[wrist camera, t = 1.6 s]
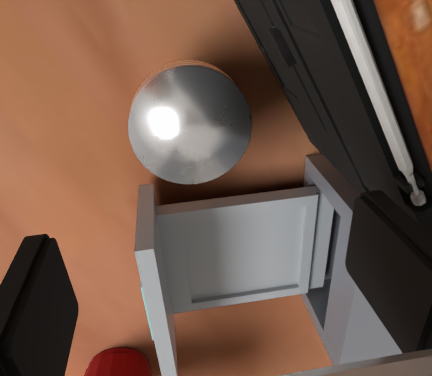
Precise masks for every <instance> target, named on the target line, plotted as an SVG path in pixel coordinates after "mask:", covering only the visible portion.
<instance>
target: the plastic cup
mask: <svg viewBox="0 0 432 376" xmlns="http://www.w3.org/2000/svg"><path fill="white" fill-rule="evenodd" d="M84 376H152V374H151V368H150V366H149V363H148V360H147V359H146V357H145V355H143V354H142V353H140V352H139V351H137V350H133V349H129V348H112V349H109V350H105V351H102V352H101V353H99V354H98V355H96V356H95V357H94V358H93V359H92V361H91V362H90V364H89V366H88V368H87V369H86V372H85V375H84Z"/></svg>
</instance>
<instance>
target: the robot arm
mask: <svg viewBox="0 0 432 376" xmlns="http://www.w3.org/2000/svg"><path fill="white" fill-rule="evenodd" d="M345 266H346V269H347V272H348V273H349V275H350V276H351V278H352V279H353V281H354V282H355V284H356V285H357V287H358V288H359V290H360V291H361V292H362V294H363V295H364V297H365V298H366V300H367V301H368V303H369V304H370V306H371V307H372V309H373V310H374V312H375V313H376V315H377V316H378V318H379V319H380V321H381V322H382V323H383V325H384V326H385V328H386V329H387V331H388V332H389V334H390V335H391V337H392V338H393V340H394V341H395V343H396V344H397V346H398V347H399V349H400V350H401V352H402V354H397V355H391V356H385V357H380V358H374V359H369V360H363V361H357V362H352V363H346V364H340V365H335V366H329V367H324V368H318V369H312V370H307V371H301V372H296V373H291V374H285V375H280V376H432V235H431V234H429V233H428V232H427V231H426V230H425V229H424V228H423V227H422V226H421V225H419V224H418V223H417V222H416V221H415V220H414V219H413V218H412V217H411V216H409V215H408V214H407V213H406V212H405V211H404V210H403V209H402V208H401V207H400V206H398V205H397V204H396V203H395V202H394V201H393V200H392V199H391V198H390V197H388V196H387V195H386V194H385V193H384V192H383V191H381V190H374V191H366V192H362V193H361V194H360V195H359V197H357V198H356V199H355V202H354V208H353V214H352V220H351V227H350V233H349V240H348V246H347V252H346V259H345ZM77 317H78V302H77V299H76V296H75V293H74V290H73V287H72V285H71V282H70V279H69V276H68V273H67V270H66V267H65V264H64V261H63V259H62V256H61V253H60V250H59V247H58V244H57V241H56V239H55V238H49V236H48V235H47V234H42V235H34V236H27V237H25V238H24V239H23V241H22V243H21V245H20V247H19V249H18V251H17V253H16V255H15V257H14V259H13V261H12V263H11V265H10V267H9V269H8V271H7V273H6V275H5V277H4V279H3V281H2V283H1V285H0V376H65V371H66V367H67V362H68V358H69V353H70V348H71V344H72V339H73V335H74V330H75V326H76V321H77Z"/></svg>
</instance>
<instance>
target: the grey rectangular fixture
mask: <svg viewBox="0 0 432 376" xmlns="http://www.w3.org/2000/svg"><path fill="white" fill-rule="evenodd" d="M333 211H334V208H333V206H332V205H331V204H330V202H329V201H328V200H327V199H326V197H325V196H324V195H323V193H322V192H321V191H320V189H319V188H318V187H317V186H311V187H303V188H295V189H287V190H279V191H271V192H263V193H255V194H247V195H239V196H231V197H223V198H215V199H207V200H199V201H191V202H183V203H175V204H167V205H159V206H157V201H156V195H155V189H154V183H153V184H145V185H139V191H138V206H137V221H136V236H135V251H134V252H135V256H136V261H137V265H138V270H139V274H140V279H141V291H142V296H143V300H144V304H145V309H146V313H147V318H148V322H149V327H150V331H151V336H152V340H154V343H155V348H156V352H157V357H158V361H159V366H160V370H161V375H162V376H178V367H177V351H176V335H175V318H174V314H175V313H181V312H188V311H194V310H201V309H207V308H214V307H220V306H226V305H233V304H239V303H246V302H252V301H259V300H265V299H272V298H278V297H284V296H291V295H297V294H304V293H308V289H311V288H318V287H323V285H324V277H325V270H326V263H327V255H328V248H329V241H330V233H331V226H332V219H333Z"/></svg>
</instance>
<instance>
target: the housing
mask: <svg viewBox="0 0 432 376" xmlns="http://www.w3.org/2000/svg"><path fill="white" fill-rule="evenodd" d="M311 186H317V187H318V188H319V189H320V191H321V192H322V193H323V195H324V196H325V197H326V199H327V200H328V201H329V202H330V204H331V205H332V206H333V208H334V211H333V219H332V226H331V233H330V241H329V248H328V255H327V263H326V270H325V277H324V285H323V287H318V288H311V289H308V293H304V294H301V297H302V299H303V301H304V303H305V305H306V307H307V310H308V312H309V314H310V316H311V318H312V320H313V323H314V325H315V327H316V329H317V331H318V334H319V336H320V338H321V340H322V342H323V344H324V347H325V349H326V351H327V353H328V355H329V357H330V360H331V362H332V364H333V366H335V365H340V364H346V363H352V362H357V361H363V360H369V359H374V358H380V357H385V356H391V355H397V354H402V352H401V350H400V349H399V347H398V346H397V344H396V343H395V341H394V340H393V338H392V337H391V335H390V334H389V332H388V331H387V329H386V328H385V326H384V325H383V323H382V322H381V321H380V319H379V318H378V316H377V315H376V313H375V312H374V310H373V309H372V307H371V306H370V304H369V303H368V301H367V300H366V298H365V297H364V295H363V294H362V292H361V291H360V290H359V288H358V287H357V285H356V284H355V282H354V281H353V279H352V278H351V276H350V275H349V273H348V272H347V269H346V266H345V259H346V252H347V246H348V240H349V233H350V227H351V220H352V214H353V208H354V202H355V199H356V198H357V197H359V195H360V194H359V193H358V192H357V191H356V190H355V189H354V188H353V187H352V186H351V184H350V183H349V182H348V181H347V180H346V179H345V178H344V177H343V176H342V175H341V174H340V173H339V172H338V171H337V169H336V168H335V167H334V166H333V165H332V164H331V163H330V162H329V161H328V160H327V159H326V158H325V157H324V156H323V154H316V155H308V156H306V159H305V171H304V184H303V187H311Z"/></svg>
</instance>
